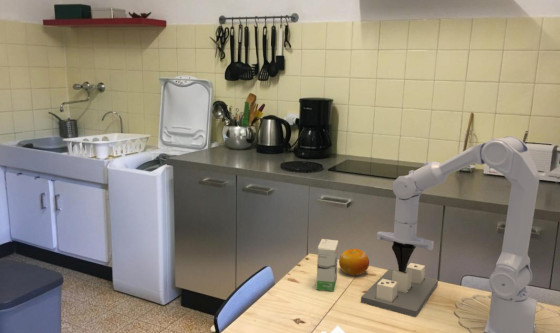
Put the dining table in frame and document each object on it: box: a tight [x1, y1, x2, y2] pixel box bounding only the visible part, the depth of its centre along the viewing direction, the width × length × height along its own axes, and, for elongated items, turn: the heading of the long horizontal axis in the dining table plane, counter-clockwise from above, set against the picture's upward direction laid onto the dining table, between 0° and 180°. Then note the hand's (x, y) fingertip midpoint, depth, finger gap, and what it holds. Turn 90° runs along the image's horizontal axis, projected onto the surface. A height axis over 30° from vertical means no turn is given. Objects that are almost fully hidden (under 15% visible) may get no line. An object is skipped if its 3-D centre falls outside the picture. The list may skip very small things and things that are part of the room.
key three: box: [376, 279, 398, 303], centre depth 120 cm, size 4×4×5 cm
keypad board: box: [360, 268, 439, 318], centre depth 126 cm, size 14×22×2 cm, turn 149°
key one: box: [406, 262, 426, 284], centre depth 131 cm, size 4×4×5 cm
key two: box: [392, 266, 412, 293], centre depth 125 cm, size 4×4×5 cm
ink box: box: [316, 238, 339, 292], centre depth 130 cm, size 9×5×12 cm, turn 168°
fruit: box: [338, 248, 370, 276], centre depth 139 cm, size 8×8×8 cm
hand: (402, 270), depth 125 cm, fingers closed, pressing on key two
